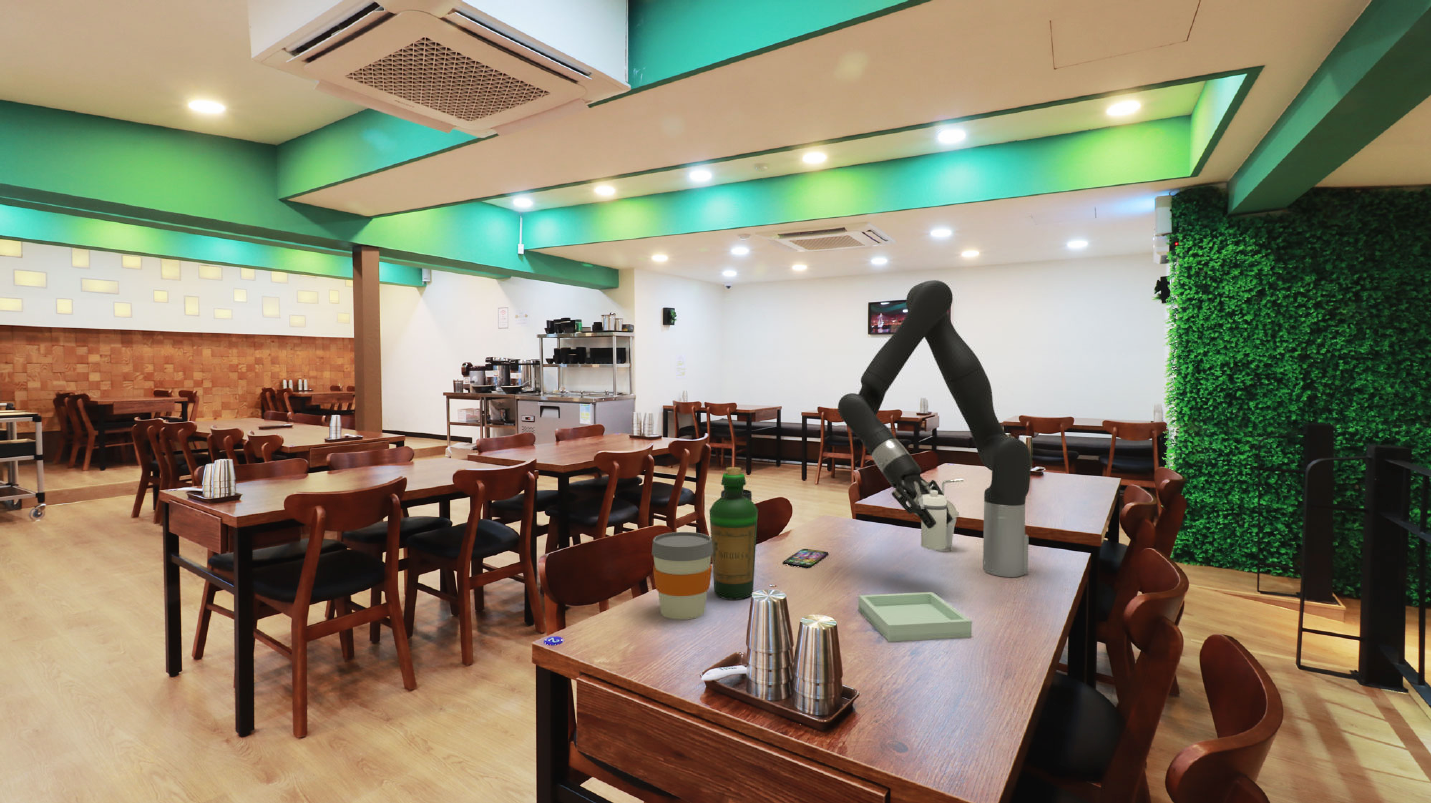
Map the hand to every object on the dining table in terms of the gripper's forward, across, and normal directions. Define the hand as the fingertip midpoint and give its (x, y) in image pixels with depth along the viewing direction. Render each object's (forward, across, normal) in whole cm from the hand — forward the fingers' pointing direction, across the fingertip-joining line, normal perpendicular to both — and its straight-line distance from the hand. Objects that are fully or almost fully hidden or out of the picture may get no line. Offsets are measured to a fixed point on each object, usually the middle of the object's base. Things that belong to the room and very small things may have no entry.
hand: (941, 523), depth 141 cm
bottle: (-9, -34, +32) cm, 48 cm away
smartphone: (-16, -2, +39) cm, 42 cm away
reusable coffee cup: (-8, -49, +31) cm, 58 cm away
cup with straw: (-4, +35, +28) cm, 44 cm away
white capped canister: (+2, 0, +5) cm, 6 cm away
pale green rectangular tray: (+15, -17, +8) cm, 24 cm away
